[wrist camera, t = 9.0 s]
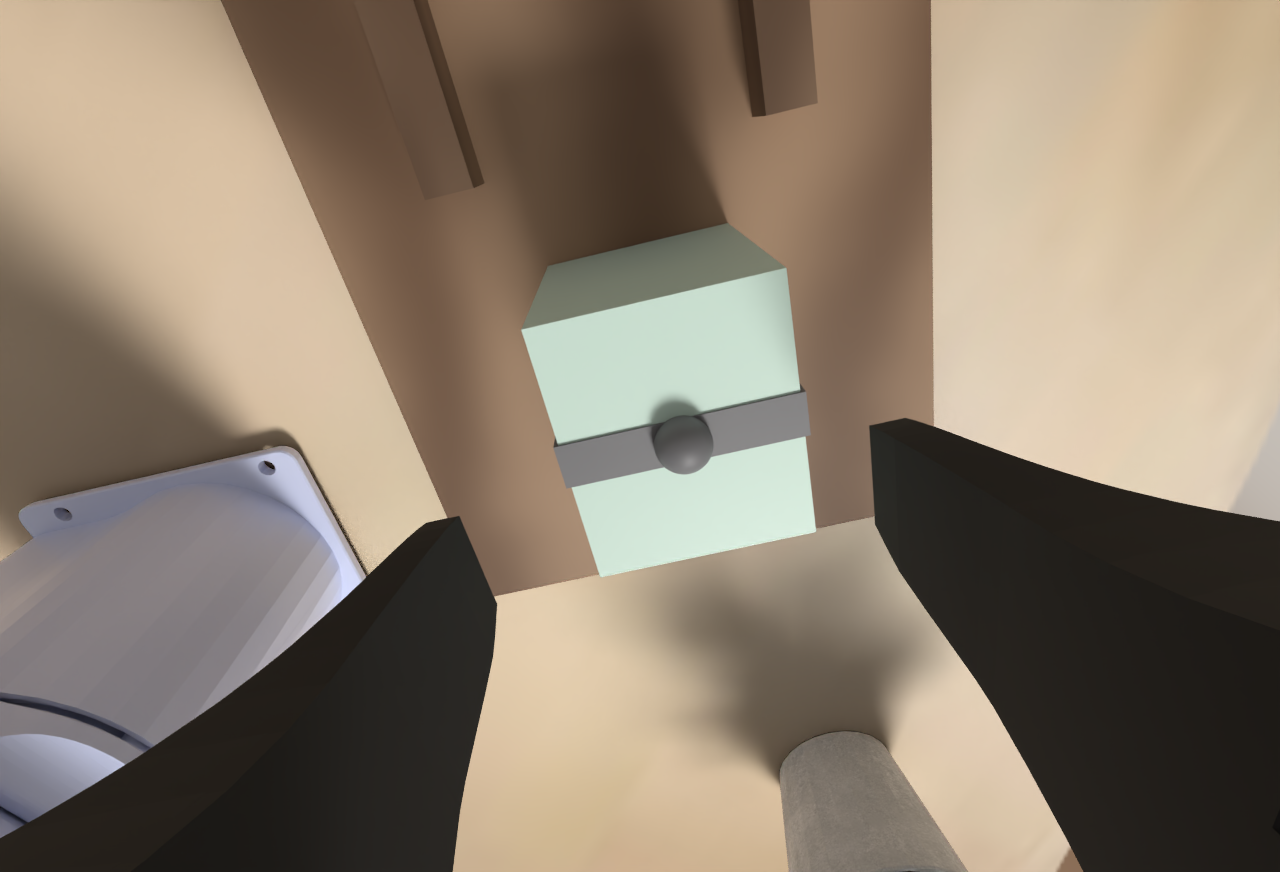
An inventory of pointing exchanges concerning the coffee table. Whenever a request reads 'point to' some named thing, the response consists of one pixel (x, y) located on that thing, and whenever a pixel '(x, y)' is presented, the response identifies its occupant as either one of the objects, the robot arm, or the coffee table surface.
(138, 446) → the coffee table surface
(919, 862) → the house plant
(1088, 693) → the robot arm
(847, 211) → the shelf
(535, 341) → the sage block
